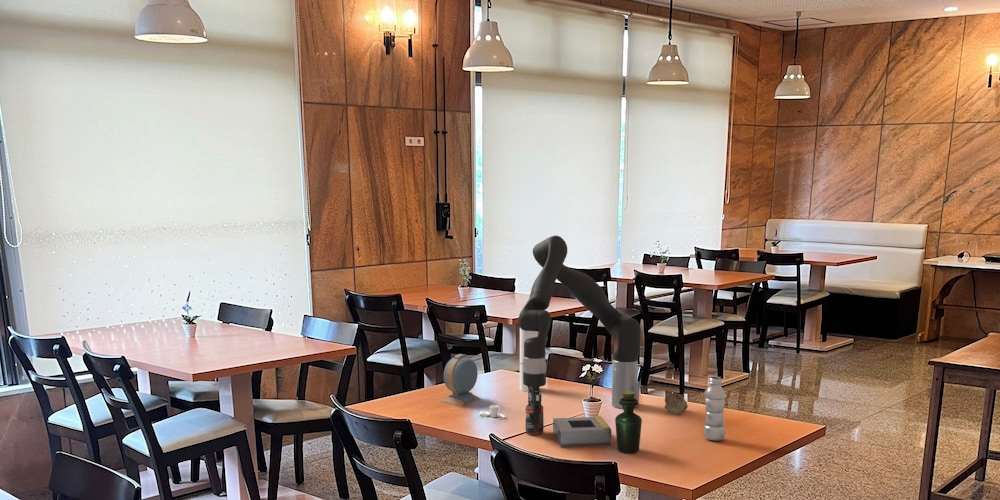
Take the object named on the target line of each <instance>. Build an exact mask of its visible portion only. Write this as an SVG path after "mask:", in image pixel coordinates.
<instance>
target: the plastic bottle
mask: <svg viewBox="0 0 1000 500" xmlns="http://www.w3.org/2000/svg"><path fill="white" fill-rule="evenodd" d="M708 384H709V385H708V386H707V388H706V389H705V390H704V393H703V395H704V397H703V398H704V404H705V422H704V426H703V435H704V437H705V438H706V439H707V440H709V441H715V442H716V441H718V442H719V441H723V440H724V439H725V437H726V426H725V419H724V409H725V403H726V393H725V390H724V388H723V387H722V386H721V385H723V384H722V378H721V377H719V376H709V379H708Z"/></svg>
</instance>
